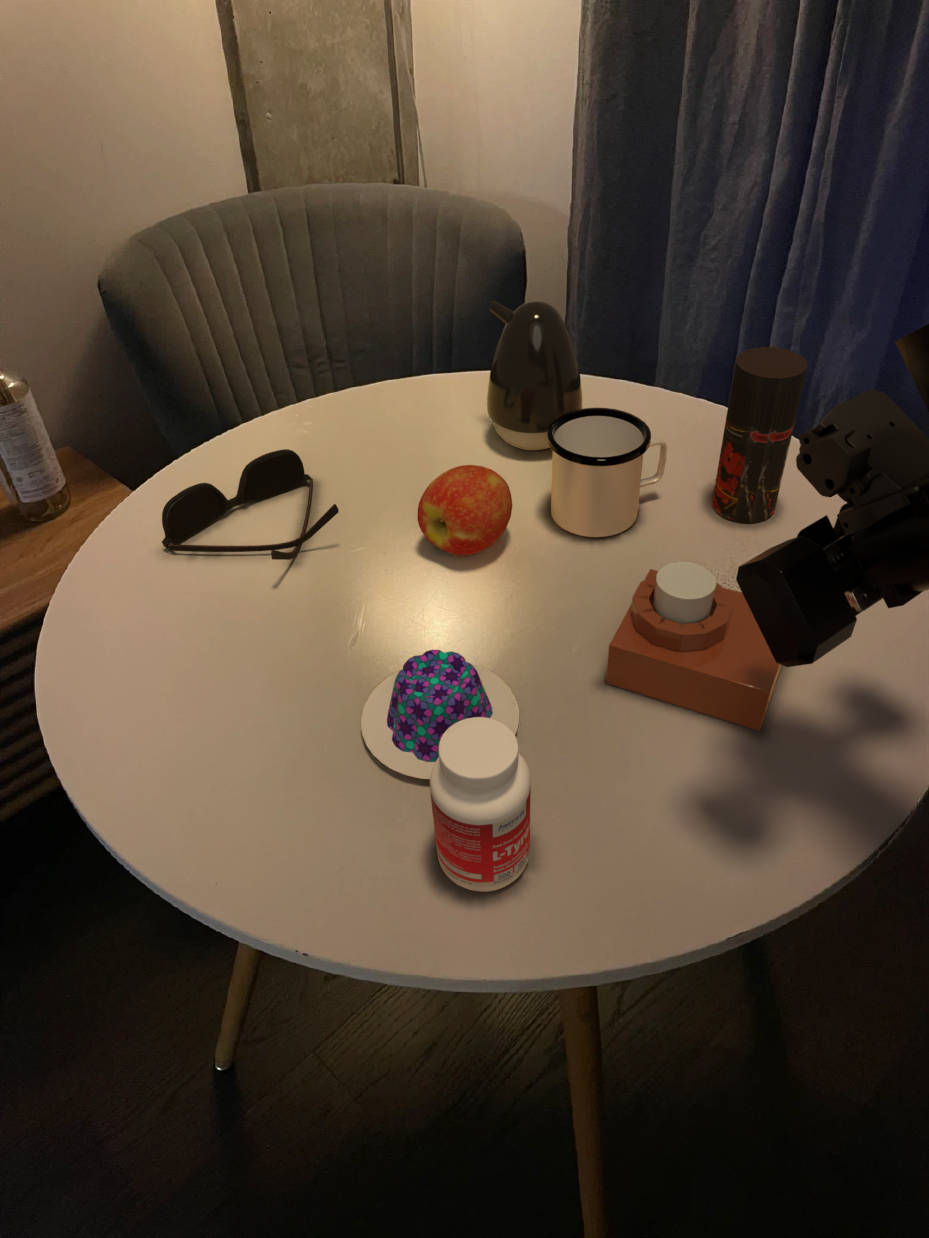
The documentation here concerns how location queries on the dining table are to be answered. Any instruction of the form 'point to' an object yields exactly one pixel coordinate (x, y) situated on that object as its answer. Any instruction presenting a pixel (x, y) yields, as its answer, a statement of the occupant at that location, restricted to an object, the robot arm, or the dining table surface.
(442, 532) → the apple
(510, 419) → the pump dispenser
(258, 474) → the sunglasses
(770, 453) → the deodorant
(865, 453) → the robot arm
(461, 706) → the pudding
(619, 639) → the button housing
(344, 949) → the dining table surface
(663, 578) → the white cylinder
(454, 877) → the pill bottle
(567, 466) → the mug
